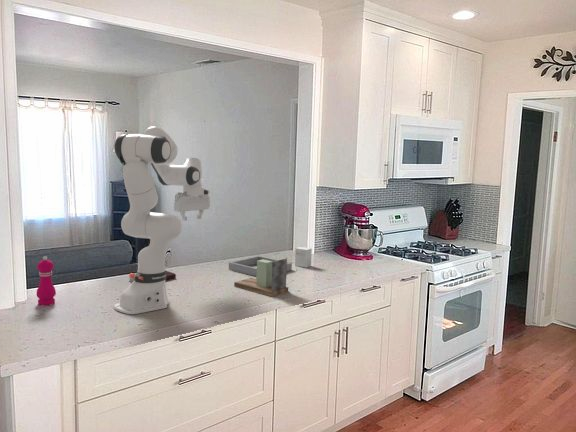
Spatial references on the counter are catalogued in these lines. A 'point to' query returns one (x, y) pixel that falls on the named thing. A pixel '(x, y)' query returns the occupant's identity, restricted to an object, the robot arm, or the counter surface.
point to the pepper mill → (45, 283)
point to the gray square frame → (244, 264)
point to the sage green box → (264, 273)
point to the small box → (303, 257)
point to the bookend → (277, 281)
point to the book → (168, 276)
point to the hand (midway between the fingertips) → (191, 219)
